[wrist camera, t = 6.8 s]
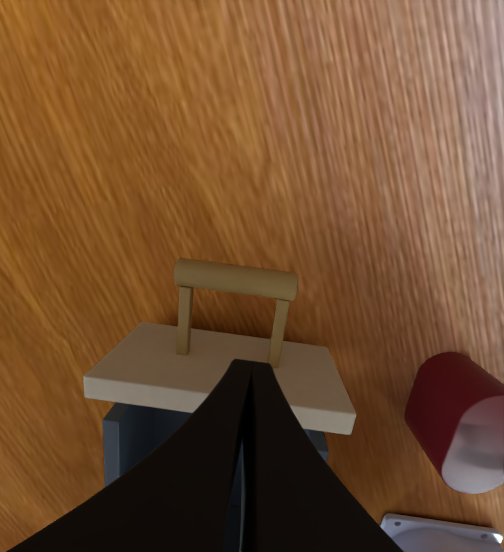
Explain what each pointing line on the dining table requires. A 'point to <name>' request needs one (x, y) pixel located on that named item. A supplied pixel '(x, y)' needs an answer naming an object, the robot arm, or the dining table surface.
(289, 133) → the dining table surface
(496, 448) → the red capsule case
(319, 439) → the drawer
